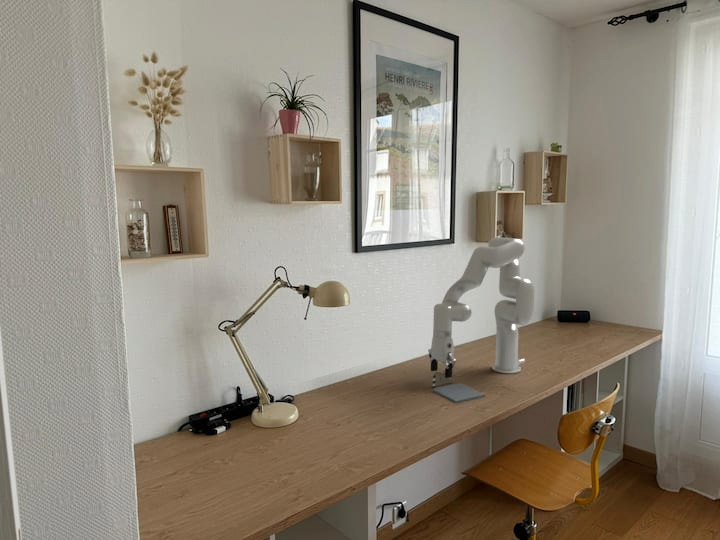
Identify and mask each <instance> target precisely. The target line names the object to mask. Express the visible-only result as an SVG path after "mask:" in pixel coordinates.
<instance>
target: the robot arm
mask: <svg viewBox="0 0 720 540" xmlns="http://www.w3.org/2000/svg"><path fill="white" fill-rule="evenodd" d="M525 250H526V248H525V244H524V242H523V241H522V240H521V239H519V238H514V237H513V238H512V237H502V236H501V237H500V236H499V237H493V238H491V239H490V240H489V242H488V246H479V247H476V248H475V249H474V250H473V252H472V254H471V256H470V258H469V261H468V263H467V265H466V268H465V270H464V271H463V274H462V275H461V277H460V278H459V279H457V280H456V282H454V283H453V285H451V286H450V287H449V288H448V289H447V291H446V292H445V294H444V297H443V299H442V302H441V303H437V304H435V305H434V306H433V326H432V327H433V329H432V330H433V331H432V339H431V347H430V348H429V349H428V350H427V351H428V357H429V361H430V372H438V367H439V365H438V362H441V363H442V364H444V365H445V368H444V370H445V378H449V377H452V369H453V368H454V366H455V365H456V362H457V360H456V357H454V356H455V353H454V352H455V351H454V341H453V338H452V330H453V326H452V325H453V322H467V321H468V320H470V318H471V317H472V309H471V307H470V306H469V305H467V304H465V303H462V302H459V300H460V298H461V297H462V296H463V295H465V294H466V293H467V292H469V291H471V290H474V289H476V288H479V287H480V286H481V285H482V284H483V281H484V279H485V276H486V274H487V272H488V269H489V268H492V269H498V268H499V279H498V280H499V283H498V290H499V293H500V295H501V296H502V297H505V298H508V299H514V300H508V299H502V300H499V301H498V302H497V303H496V304H495V306H494V318H495V326H496V327H495V328H496V332H495V333H496V336H495V338H496V339H495V363H493V364H492V365H491V369H492V370H493V371H494V372H498V373H501V374H517V373H520V372H521V370H522V367H521V366H520V365H521V364H524V363H526V361H525V358H522V359H521V358H519V357H518V356H519V355H518V353H519V351H518V350H519V328H518V326H528V325H529V324H530V323H531V321H532V320H533V317H534V307H535V306H534V305H535V286H534V284H533V282H532V281H531V279H528V278H525V277H521V276H520V275H521V274H520V273H521V266H520V261H519V259H520V258H521V257H522V256H523V254H524V253H525Z"/></svg>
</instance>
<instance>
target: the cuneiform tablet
mask: <svg viewBox="0 0 720 540" xmlns="http://www.w3.org/2000/svg"><path fill="white" fill-rule="evenodd" d="M454 378H455V370H454V369H453V368H452V377H449V378H445V369H444V370H440V371H434V372H433V375H432V389H434V388H436V387H438V386H442V385H444V386H445V385H448V384H449V385H450V384H454V381H455V379H454Z"/></svg>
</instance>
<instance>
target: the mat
mask: <svg viewBox="0 0 720 540" xmlns="http://www.w3.org/2000/svg"><path fill="white" fill-rule="evenodd" d="M431 390H432V392H434V393H436V394H438V395H440V396H442V397H444V398H445V399H447V400H450V401H451V402H453V403H455V404H459V403H463V402H467V401H471V400H475V399H481V398H485V397H486V394H485V393H482V392H481V391H478V390H476V389H474V388H472V387H470V386H468V385H466V384H463V383H461V382H458V383H452V384H449V385H448V384H447V385H444V386H440V387H435V388H434V389H433V388H432V389H431Z"/></svg>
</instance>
